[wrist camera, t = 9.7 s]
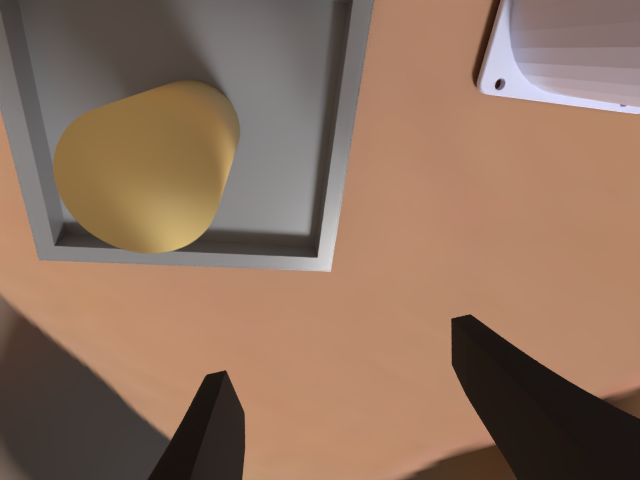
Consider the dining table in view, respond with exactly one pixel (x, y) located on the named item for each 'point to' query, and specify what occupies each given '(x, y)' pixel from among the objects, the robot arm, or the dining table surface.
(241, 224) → the tray
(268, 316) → the dining table surface
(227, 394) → the robot arm
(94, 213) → the pin
